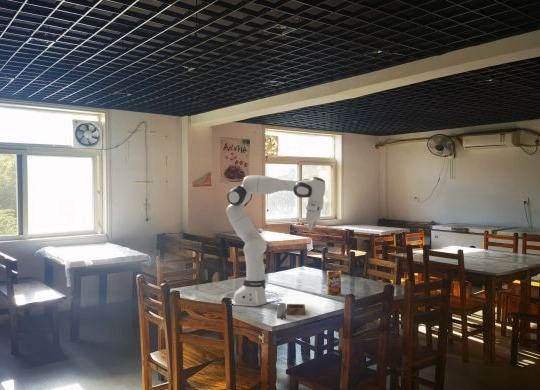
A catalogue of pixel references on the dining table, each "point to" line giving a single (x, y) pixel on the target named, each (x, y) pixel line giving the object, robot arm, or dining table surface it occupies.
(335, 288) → the candy box
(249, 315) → the dining table surface
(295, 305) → the brown wooden square box
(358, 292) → the dining table surface
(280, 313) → the steel socket
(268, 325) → the dining table surface
